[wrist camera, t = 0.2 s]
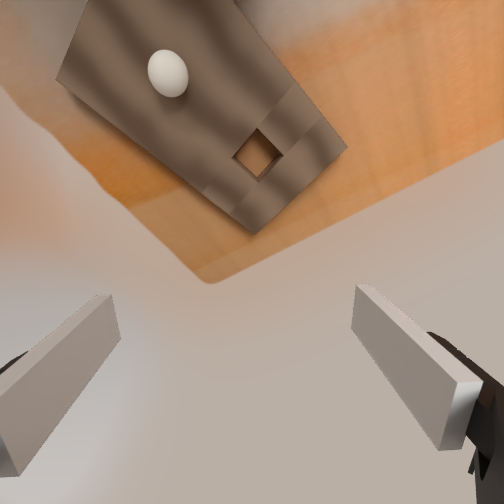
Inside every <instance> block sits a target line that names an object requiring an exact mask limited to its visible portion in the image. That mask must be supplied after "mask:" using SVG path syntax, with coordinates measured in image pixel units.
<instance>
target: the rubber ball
mask: <svg viewBox="0 0 504 504" xmlns="http://www.w3.org/2000/svg"><path fill="white" fill-rule="evenodd" d="M148 76H149V79H150V81H151V83H152V85H153V87H154V88H155V89H156V90H157V91H158V92H159V93H161V94H162V95H164V96H167V97H177V96H179V95H181V94H182V93H183V92H184V91H185V89H186V88H187V85H188V71H187V67H186V65H185V63H184V62H183V60H182V59H181V58H180V57H179V56H178V55H177V54H176V53H174V52H172V51H170V50H159V51H157V52H155V53H154V54H153V55H152V56H151V58H150V60H149V63H148Z"/></svg>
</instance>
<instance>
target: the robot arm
mask: <svg viewBox="0 0 504 504" xmlns="http://www.w3.org/2000/svg"><path fill="white" fill-rule="evenodd" d="M351 329H352V330H353V332H354V333H355V334H356V336H357V337H358V339H359V340H360V341H361V343H362V344H363V346H364V347H365V348H366V350H367V351H368V353H369V354H370V355H371V357H372V358H373V360H374V361H375V363H376V364H377V365H378V367H379V368H380V369H381V371H382V372H383V374H384V375H385V377H386V378H387V379H388V381H389V382H390V384H391V385H392V386H393V388H394V389H395V391H396V392H397V393H398V395H399V396H400V398H401V399H402V400H403V402H404V403H405V405H406V406H407V407H408V409H409V410H410V412H411V413H412V414H413V416H414V417H415V419H416V420H417V422H418V423H419V424H420V426H421V427H422V429H423V430H424V431H425V433H426V434H427V436H428V437H429V438H430V440H431V441H432V442H433V444H434V445H435V447H436V448H437V450H438V451H443V450H459V449H462V446H463V443H464V440H465V437H466V436H467V437H468V438H469V439H470V440H471V441H472V443H473V444H474V445H475V446H476V450H475V453H474V455H473V458H472V461H471V464H470V467H469V471H468V473H470V474H473V472H474V470H475V482H476V498H477V504H504V386H503V385H501V384H500V383H499V382H498V381H496V380H495V379H494V378H493V377H491V376H490V375H489V374H488V373H486V372H485V371H484V370H483V369H482V368H480V367H479V366H478V365H477V364H475V363H474V362H473V361H472V360H470V359H469V358H467V357H466V356H465V355H464V354H463V353H462V352H461V351H459V350H457V348H456V347H454V346H453V345H452V344H451V343H449V342H448V341H447V340H446V339H444V338H442V337H440V336H438V335H436V334H434V333H432V332H425V331H424V330H423V329H422V328H420V327H419V326H418V325H417V324H416V323H415V322H413V321H412V320H411V319H410V318H409V317H407V316H406V315H405V314H404V313H403V312H402V311H401V310H399V309H398V308H397V307H396V306H395V305H393V304H392V303H391V302H390V301H389V300H388V299H386V298H385V297H384V296H383V295H382V294H381V293H379V292H378V291H377V290H376V289H375V288H373V286H371V285H370V284H365V285H356V290H355V299H354V308H353V317H352V326H351ZM120 339H121V337H120V333H119V328H118V323H117V319H116V314H115V310H114V305H113V300H112V296H111V295H96V296H95V297H94V298H93V299H91V300H90V301H89V302H88V303H86V304H85V305H84V306H83V307H82V308H81V309H79V310H78V311H77V312H76V313H74V314H73V315H72V316H71V317H70V318H68V319H67V320H66V321H65V322H64V323H63V324H61V325H60V326H59V327H57V328H56V329H55V330H54V331H53V332H52V333H50V334H49V335H48V336H47V337H45V338H44V339H43V340H42V341H41V342H39V343H38V344H37V345H36V346H35V347H33V348H32V349H31V350H30V351H27V352H25V353H23V354H22V355H20V356H18V357H16V358H15V359H13V360H11V361H10V362H9V363H7V364H6V365H5V366H4V367H2V368H1V369H0V477H16V476H20V475H21V474H22V472H23V471H24V470H25V468H26V467H27V465H28V464H29V463H30V461H31V460H32V459H33V457H34V456H35V455H36V453H37V452H38V450H39V449H40V448H41V447H42V445H43V444H44V442H45V441H46V440H47V438H48V437H49V436H50V434H51V433H52V432H53V430H54V429H55V427H56V426H57V425H58V423H59V422H60V421H61V419H62V418H63V417H64V415H65V414H66V413H67V411H68V409H69V408H70V407H71V406H72V404H73V403H74V402H75V400H76V399H77V398H78V396H79V395H80V393H81V392H82V391H83V389H84V388H85V387H86V385H87V384H88V383H89V381H90V380H91V379H92V377H93V376H94V374H95V373H96V372H97V370H98V369H99V368H100V366H101V365H102V364H103V362H104V361H105V359H106V358H107V357H108V355H109V354H110V353H111V351H112V350H113V349H114V347H115V346H116V345H117V343H118V342H119V341H120Z"/></svg>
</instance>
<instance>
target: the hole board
mask: <svg viewBox="0 0 504 504" xmlns="http://www.w3.org/2000/svg"><path fill="white" fill-rule="evenodd" d="M159 50H170V51H172V52H174V53H176V54H177V55H178V56H179V57H180V58H181V59H182V60H183V62H184V63H185V65H186V67H187V71H188V85H187V88H186V89H185V91H184V92H183V93H182V94H181V95H179V96H177V97H167V96H164V95H162V94H161V93H159V92H158V91H157V90H156V89H155V88H154V87H153V85H152V83H151V81H150V79H149V76H148V63H149V60H150V58H151V56H152V55H153V54H154V53H155V52H157V51H159ZM56 81H58V82H59V83H60V84H62V85H63V86H64V87H65V88H67V89H68V90H69V91H70V92H72V93H73V94H74V95H76V96H77V97H78V98H79V99H81V100H82V101H83V102H85V103H86V104H87V105H88V106H90V107H91V108H92V109H94V110H95V111H96V112H97V113H99V114H100V115H101V116H103V117H104V118H105V119H106V120H108V121H109V122H110V123H112V124H113V125H114V126H115V127H117V128H118V129H119V130H121V131H122V132H123V133H124V134H126V135H127V136H128V137H130V138H131V139H132V140H133V141H135V142H136V143H137V144H139V145H140V146H141V147H142V148H144V149H145V150H146V151H147V152H149V153H150V154H151V155H153V156H154V157H155V158H156V159H158V160H159V161H160V162H162V163H163V164H164V165H165V166H167V167H168V168H169V169H171V170H172V171H173V172H174V173H176V174H177V175H178V176H180V177H181V178H182V179H183V180H185V181H186V182H187V183H189V184H190V185H191V186H192V187H194V188H195V189H196V190H198V191H199V192H200V193H201V194H203V195H204V196H205V197H207V198H208V199H209V200H210V201H212V202H213V203H214V204H216V205H217V206H218V207H219V208H221V209H222V210H223V211H225V212H226V213H227V214H228V215H230V216H231V217H232V218H233V219H235V220H236V221H237V222H239V223H240V224H241V225H242V226H244V227H245V228H246V229H248V230H249V231H250V232H251V233H253V234H254V235H255V234H257V233H258V232H259V231H260V230H261V229H262V228H263V227H264V226H265V225H266V224H267V223H268V222H269V221H270V220H271V219H272V218H273V217H275V216H276V215H277V214H278V213H279V212H280V211H281V210H282V209H283V208H284V207H285V206H286V205H287V204H288V203H289V202H290V201H291V200H293V199H294V198H295V197H296V196H297V195H298V194H299V193H300V192H301V191H302V190H303V189H304V188H305V187H306V186H307V185H308V184H309V183H311V182H312V181H313V180H314V179H315V178H316V177H317V176H318V175H319V174H320V173H321V172H322V171H323V170H324V169H325V168H326V167H328V166H329V165H330V164H331V163H332V162H333V161H334V160H335V159H336V158H337V157H338V156H339V155H340V154H341V153H342V152H343V151H344V150H346V149H347V148H348V146H347V145H346V144H345V142H344V141H343V140H342V139H341V137H340V136H339V135H338V134H337V132H336V131H335V130H334V128H333V127H332V126H331V125H330V123H329V122H328V121H327V120H326V118H325V117H324V116H323V115H322V113H321V112H320V111H319V109H318V108H317V107H316V106H315V104H314V103H313V102H312V101H311V99H310V98H309V97H308V96H307V94H306V93H305V92H304V90H303V89H302V88H301V87H300V85H299V84H298V83H297V82H296V80H295V79H294V78H293V77H292V75H291V74H290V73H289V72H288V70H287V69H286V68H285V66H284V65H283V64H282V63H281V61H280V60H279V59H278V58H277V56H276V55H275V54H274V53H273V51H272V50H271V49H270V47H269V46H268V45H267V44H266V42H265V41H264V40H263V39H262V37H261V36H260V35H259V34H258V32H257V31H256V30H255V28H254V27H253V26H252V25H251V23H250V22H249V21H248V20H247V18H246V17H245V16H244V15H243V13H242V12H241V11H240V10H239V8H238V7H237V6H236V4H235V3H234V2H233V1H232V0H88V3H87V5H86V8H85V10H84V12H83V15H82V17H81V20H80V22H79V24H78V27H77V29H76V32H75V34H74V36H73V39H72V41H71V44H70V46H69V48H68V51H67V53H66V56H65V58H64V60H63V63H62V65H61V68H60V70H59V73H58V75H57V77H56ZM256 128H258V129H259V130H260V131H261V132H262V133H263V134H264V135H265V137H266V138H267V139H268V140H269V141H270V142H271V143H272V144H273V145H274V146H275V147H276V148H277V149H278V150H279V151H280V153H279V154H278V155H277V156H276V157H275V159H274V160H273V161H272V162H271V163H270V164H269V165H268V166H267V167H266V168H265V169H264V170H263V171H262V172H261V174H260V175H259V176H258V177H256V176H255V175H254V174H253V173H252V172H250V171H249V170H248V169H247V168H246V167H245V166H244V165H243V164H242V163H241V162H240V161H238V160H237V159H236V158H235V157H234V156H233V155H234V154H235V153H236V152H237V151H238V149H239V148H240V147H241V146H242V145H243V144H244V142H245V141H246V140H247V139H248V138H249V136H250V135H251V134H252V133H253V132H254V130H255V129H256Z"/></svg>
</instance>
